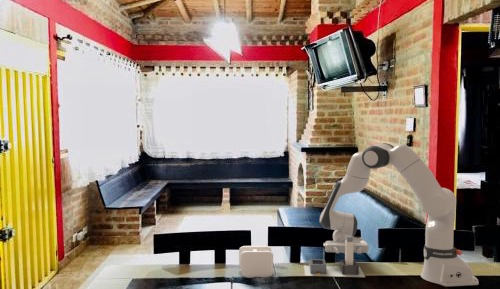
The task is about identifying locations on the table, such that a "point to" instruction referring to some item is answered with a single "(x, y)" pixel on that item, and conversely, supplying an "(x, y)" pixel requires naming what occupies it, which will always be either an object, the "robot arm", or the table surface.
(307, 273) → the panel
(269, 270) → the cable organizer
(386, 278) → the table surface
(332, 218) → the robot arm
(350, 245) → the plug
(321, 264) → the box
